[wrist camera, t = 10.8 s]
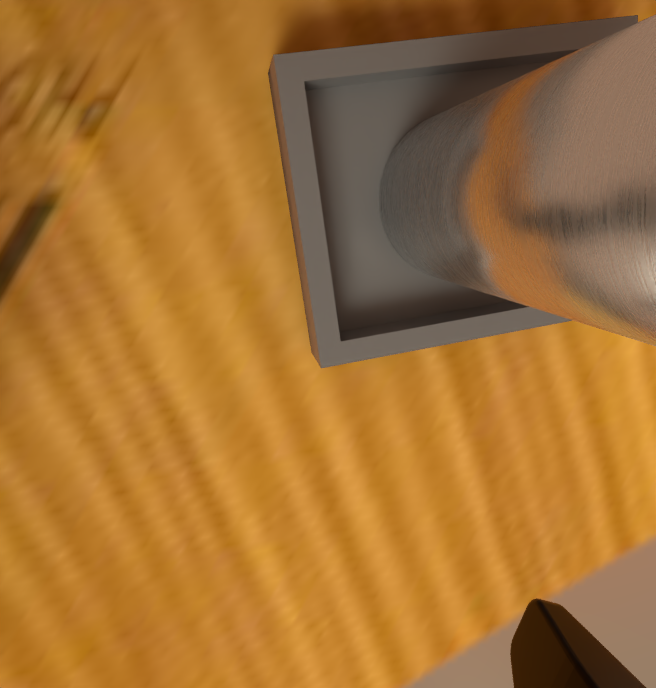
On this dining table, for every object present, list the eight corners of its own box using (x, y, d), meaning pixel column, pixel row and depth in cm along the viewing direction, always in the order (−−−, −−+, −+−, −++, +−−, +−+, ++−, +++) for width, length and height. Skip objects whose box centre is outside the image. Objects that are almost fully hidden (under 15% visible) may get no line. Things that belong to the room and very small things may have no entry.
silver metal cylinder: (419, 306, 20) (806, 496, 7) (351, 159, 18) (687, 19, 5) (553, 233, 20) (1179, 273, 7) (498, 81, 19) (1183, -245, 5)
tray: (311, 352, 21) (320, 368, 19) (268, 73, 18) (273, 54, 16) (597, 299, 22) (636, 308, 20) (594, 36, 20) (637, 15, 18)
